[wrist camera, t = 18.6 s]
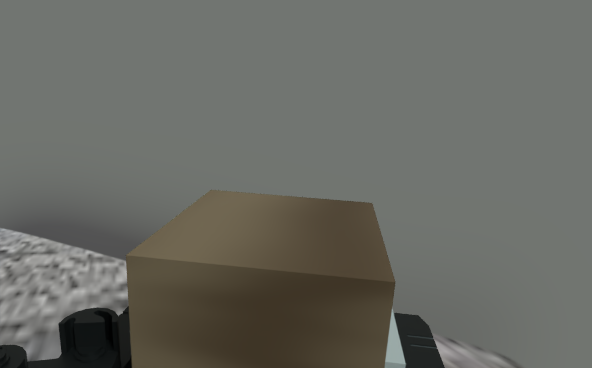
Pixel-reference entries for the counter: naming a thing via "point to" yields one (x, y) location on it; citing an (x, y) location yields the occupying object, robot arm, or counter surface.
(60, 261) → the counter surface
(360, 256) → the walnut block
